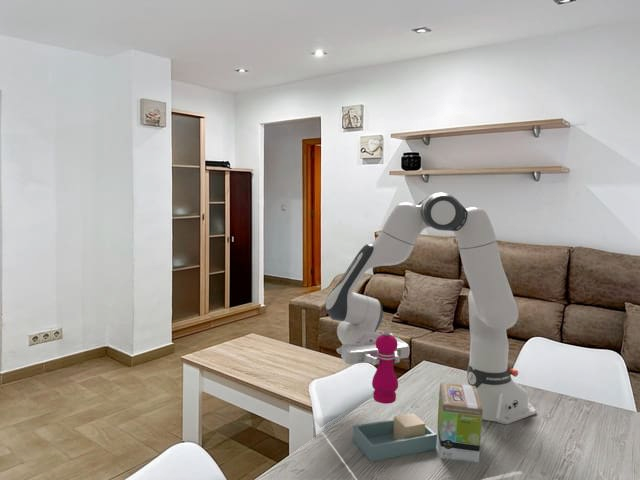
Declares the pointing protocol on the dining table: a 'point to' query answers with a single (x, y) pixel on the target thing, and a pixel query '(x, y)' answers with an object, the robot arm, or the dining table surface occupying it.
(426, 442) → the box
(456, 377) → the dining table surface
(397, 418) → the tan wooden cube
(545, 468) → the dining table surface
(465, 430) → the tea box
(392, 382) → the pepper mill
